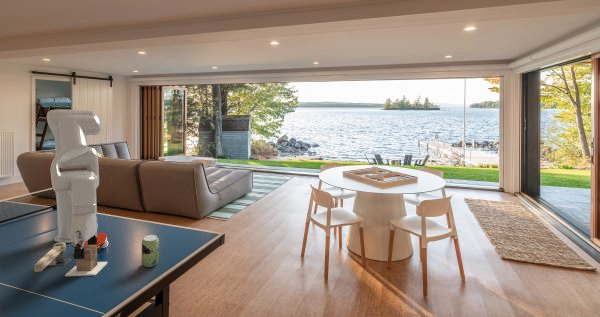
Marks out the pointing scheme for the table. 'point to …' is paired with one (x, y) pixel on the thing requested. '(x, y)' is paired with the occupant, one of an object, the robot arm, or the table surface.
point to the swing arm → (51, 256)
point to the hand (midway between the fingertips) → (86, 252)
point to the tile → (86, 273)
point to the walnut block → (88, 259)
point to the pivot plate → (60, 262)
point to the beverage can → (150, 250)
